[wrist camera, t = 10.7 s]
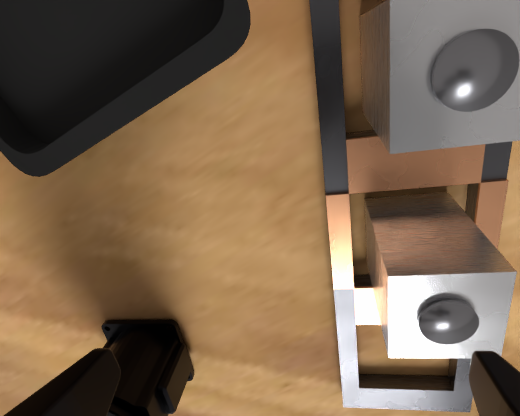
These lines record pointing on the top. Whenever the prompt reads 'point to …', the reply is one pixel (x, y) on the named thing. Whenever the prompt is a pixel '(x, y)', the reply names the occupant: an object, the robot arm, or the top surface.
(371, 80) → the grey metal block
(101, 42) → the tray
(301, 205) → the top surface
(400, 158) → the rail
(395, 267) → the knobbed block
